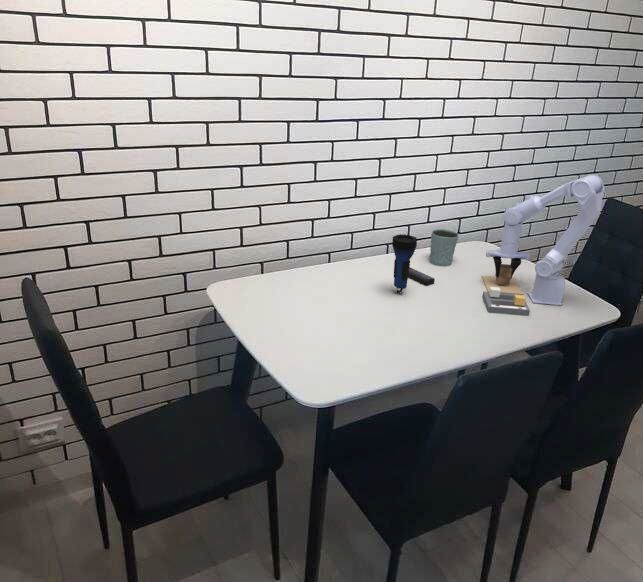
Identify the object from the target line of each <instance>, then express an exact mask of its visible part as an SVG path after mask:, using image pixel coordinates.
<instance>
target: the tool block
mask: <svg viewBox="0 0 643 582" xmlns="http://www.w3.org/2000/svg"><path fill="white" fill-rule="evenodd" d="M511 273H512V267H511V264H507V263H505V264H504V263H501V267H500V272H499V277H498V278H497V277H496V276H495V277H496V281H497V283H498V284H509V283H510V278H511Z"/></svg>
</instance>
